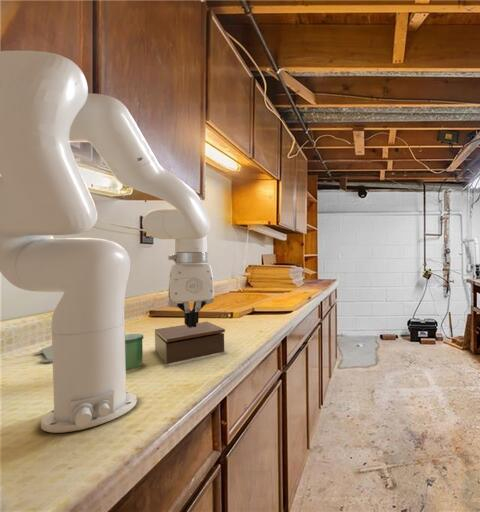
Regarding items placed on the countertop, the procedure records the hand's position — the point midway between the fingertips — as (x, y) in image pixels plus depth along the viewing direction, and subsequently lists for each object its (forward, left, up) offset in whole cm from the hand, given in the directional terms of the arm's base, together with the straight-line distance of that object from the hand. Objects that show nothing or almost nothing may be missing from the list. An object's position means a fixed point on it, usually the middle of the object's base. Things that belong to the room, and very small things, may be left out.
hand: (191, 326), depth 85 cm
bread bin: (+5, 0, -9) cm, 10 cm away
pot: (+2, +13, -9) cm, 16 cm away
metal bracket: (+30, +23, -9) cm, 38 cm away
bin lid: (+4, 0, -2) cm, 5 cm away
